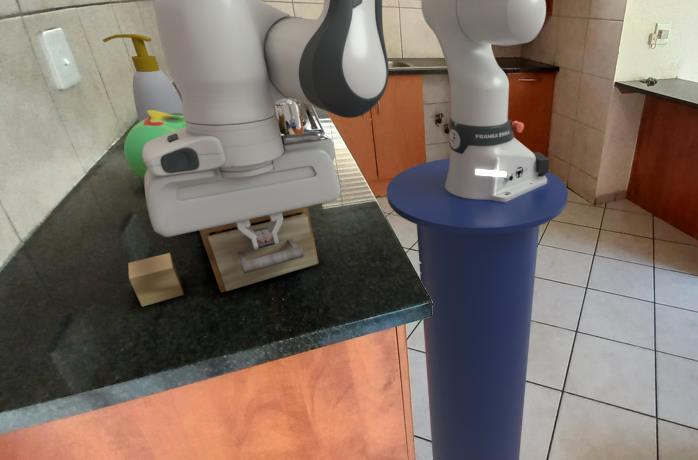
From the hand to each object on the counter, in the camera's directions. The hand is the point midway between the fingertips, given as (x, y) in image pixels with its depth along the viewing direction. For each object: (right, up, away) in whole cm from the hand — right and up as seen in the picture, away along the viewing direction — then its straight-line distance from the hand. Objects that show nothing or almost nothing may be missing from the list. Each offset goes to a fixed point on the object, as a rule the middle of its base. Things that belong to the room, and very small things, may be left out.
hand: (265, 244), depth 55 cm
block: (-15, -6, +2) cm, 16 cm away
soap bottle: (-52, +22, +51) cm, 76 cm away
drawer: (-4, -3, +7) cm, 9 cm away
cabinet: (-7, -2, +11) cm, 13 cm away
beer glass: (-19, +17, +45) cm, 52 cm away
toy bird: (-35, +12, +34) cm, 51 cm away
